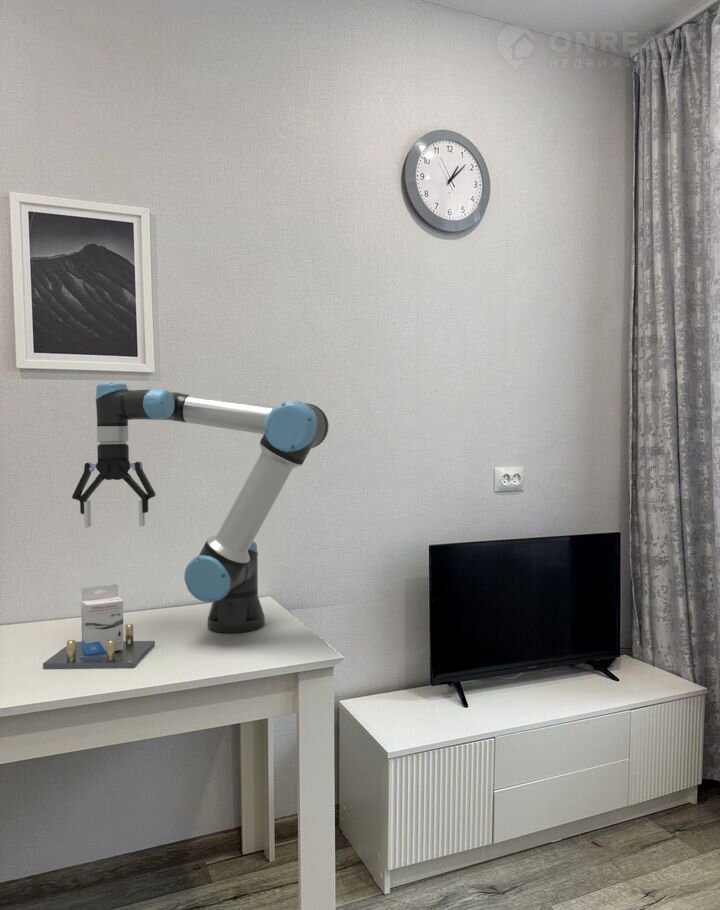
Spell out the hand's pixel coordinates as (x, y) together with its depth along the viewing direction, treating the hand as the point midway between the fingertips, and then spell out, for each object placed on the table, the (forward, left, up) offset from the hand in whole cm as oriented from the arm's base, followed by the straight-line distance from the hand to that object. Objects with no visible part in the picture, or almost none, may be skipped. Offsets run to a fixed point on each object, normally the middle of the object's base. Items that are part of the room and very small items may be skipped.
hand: (115, 526), depth 177 cm
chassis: (-2, +18, -28) cm, 33 cm away
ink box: (-3, +17, -27) cm, 32 cm away
